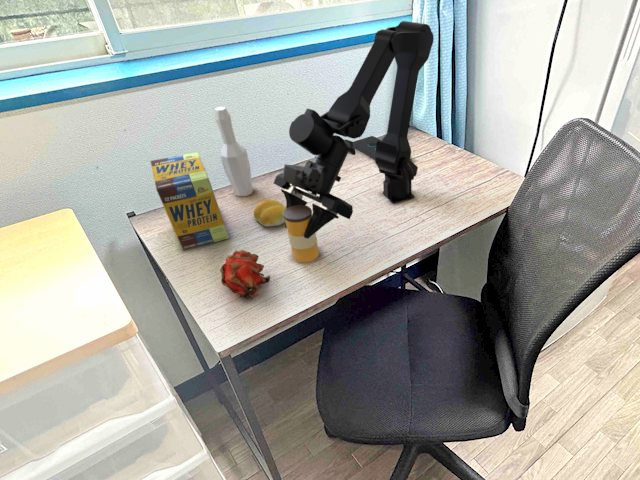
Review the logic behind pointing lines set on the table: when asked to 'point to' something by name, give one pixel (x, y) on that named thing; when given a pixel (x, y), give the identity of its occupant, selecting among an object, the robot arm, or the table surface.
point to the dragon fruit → (243, 274)
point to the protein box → (189, 200)
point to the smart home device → (367, 146)
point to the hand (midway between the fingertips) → (296, 232)
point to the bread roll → (270, 213)
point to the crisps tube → (300, 233)
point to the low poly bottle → (233, 156)
